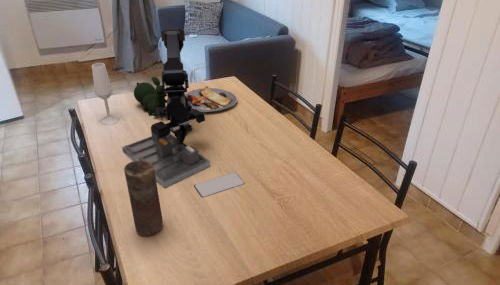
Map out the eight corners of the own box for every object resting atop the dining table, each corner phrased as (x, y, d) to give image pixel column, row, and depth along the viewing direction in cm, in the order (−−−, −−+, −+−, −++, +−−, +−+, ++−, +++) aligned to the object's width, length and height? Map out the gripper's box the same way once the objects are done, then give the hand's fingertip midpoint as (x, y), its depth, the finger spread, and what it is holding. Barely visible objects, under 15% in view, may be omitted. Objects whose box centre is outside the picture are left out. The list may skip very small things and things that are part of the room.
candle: (138, 217, 103) (127, 158, 93) (164, 216, 104) (156, 157, 94) (133, 237, 97) (120, 176, 86) (161, 236, 97) (152, 175, 87)
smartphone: (193, 184, 116) (235, 171, 123) (193, 186, 117) (235, 173, 123) (201, 197, 111) (245, 183, 117) (201, 198, 111) (245, 184, 118)
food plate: (172, 100, 170) (172, 93, 168) (212, 88, 184) (212, 81, 182) (205, 120, 155) (205, 113, 153) (246, 105, 169) (246, 98, 167)
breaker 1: (161, 135, 139) (160, 122, 136) (167, 139, 136) (165, 126, 134) (152, 138, 136) (150, 126, 134) (157, 142, 134) (156, 130, 131)
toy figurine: (174, 120, 157) (148, 96, 172) (172, 80, 146) (144, 58, 162) (154, 126, 152) (129, 101, 167) (150, 85, 141) (123, 62, 156)
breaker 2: (192, 156, 126) (191, 144, 124) (199, 161, 124) (198, 148, 121) (182, 161, 124) (181, 148, 121) (189, 166, 121) (188, 153, 119)
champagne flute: (117, 115, 156) (107, 61, 144) (118, 122, 151) (107, 66, 138) (101, 118, 154) (88, 63, 142) (101, 125, 149) (88, 68, 136)
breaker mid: (166, 149, 130) (165, 136, 127) (172, 153, 128) (171, 141, 125) (156, 153, 128) (154, 140, 125) (162, 158, 125) (161, 145, 123)
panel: (166, 135, 143) (165, 129, 141) (210, 166, 125) (209, 159, 124) (123, 151, 132) (121, 145, 131) (164, 188, 115) (163, 180, 113)
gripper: (186, 89, 133) (189, 127, 141) (139, 104, 122) (145, 144, 130) (204, 99, 126) (207, 138, 135) (157, 115, 115) (162, 156, 124)
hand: (180, 143), depth 131 cm, fingers closed
